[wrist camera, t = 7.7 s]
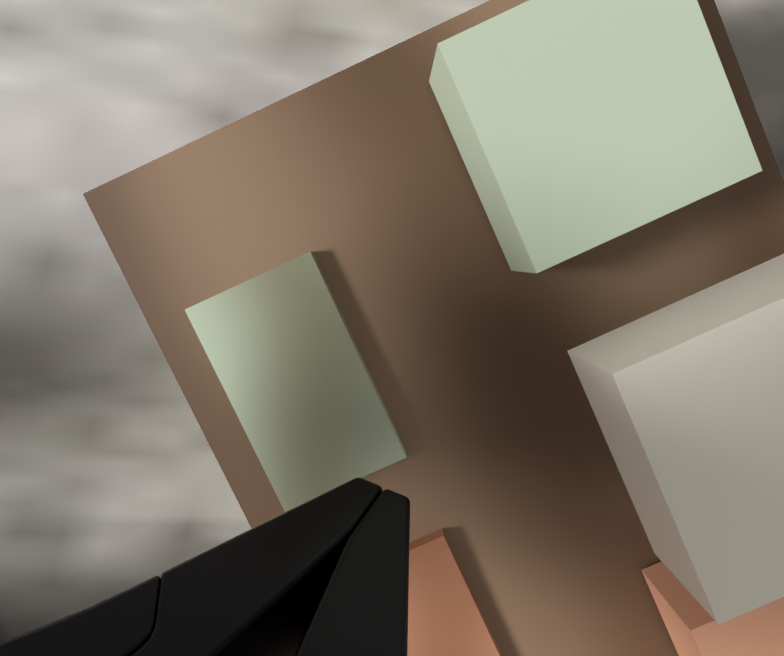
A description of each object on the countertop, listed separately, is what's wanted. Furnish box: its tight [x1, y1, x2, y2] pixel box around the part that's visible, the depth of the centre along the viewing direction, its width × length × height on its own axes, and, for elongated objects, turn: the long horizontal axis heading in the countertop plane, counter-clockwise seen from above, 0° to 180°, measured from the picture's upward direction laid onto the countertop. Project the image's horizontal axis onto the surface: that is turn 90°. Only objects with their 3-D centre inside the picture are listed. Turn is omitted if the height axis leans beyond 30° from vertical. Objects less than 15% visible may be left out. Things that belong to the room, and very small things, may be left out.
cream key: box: [568, 254, 784, 625], centre depth 11 cm, size 4×4×2 cm
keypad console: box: [83, 0, 784, 656], centre depth 18 cm, size 14×18×7 cm
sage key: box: [429, 0, 762, 273], centre depth 12 cm, size 4×4×2 cm
